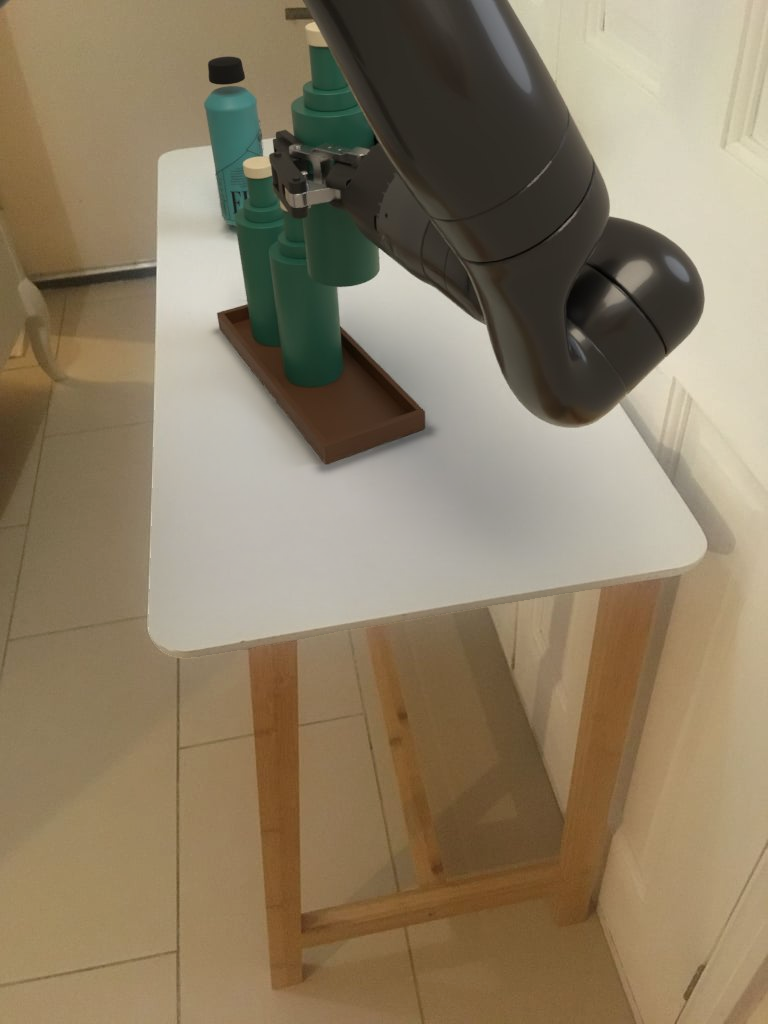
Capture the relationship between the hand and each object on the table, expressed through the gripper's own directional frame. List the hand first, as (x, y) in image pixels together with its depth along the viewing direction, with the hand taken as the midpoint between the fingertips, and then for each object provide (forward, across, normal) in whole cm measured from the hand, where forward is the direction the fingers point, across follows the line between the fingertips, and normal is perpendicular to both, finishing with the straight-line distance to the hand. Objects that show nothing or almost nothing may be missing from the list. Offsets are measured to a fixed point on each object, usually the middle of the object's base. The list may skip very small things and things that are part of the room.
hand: (320, 135), depth 66 cm
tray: (+6, 0, +25) cm, 26 cm away
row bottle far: (+15, 0, +25) cm, 29 cm away
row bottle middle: (+6, 0, +25) cm, 26 cm away
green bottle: (-2, 0, +10) cm, 10 cm away
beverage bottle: (+42, -7, +25) cm, 49 cm away
